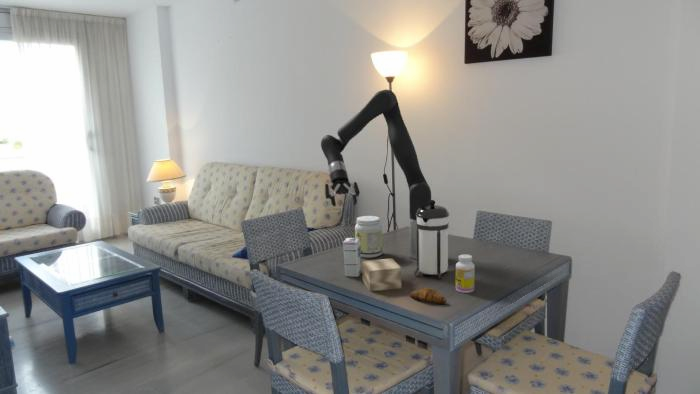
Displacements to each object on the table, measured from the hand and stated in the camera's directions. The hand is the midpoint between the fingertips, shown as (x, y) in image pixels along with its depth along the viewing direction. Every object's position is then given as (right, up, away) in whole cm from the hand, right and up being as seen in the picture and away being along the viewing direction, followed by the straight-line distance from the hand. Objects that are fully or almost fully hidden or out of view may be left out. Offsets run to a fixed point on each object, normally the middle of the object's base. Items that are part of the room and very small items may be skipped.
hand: (344, 204), depth 209 cm
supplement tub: (+11, -23, +20) cm, 32 cm away
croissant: (+29, -33, -35) cm, 56 cm away
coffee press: (+35, -27, -7) cm, 45 cm away
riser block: (+14, -30, -18) cm, 38 cm away
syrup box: (+3, -28, -6) cm, 29 cm away
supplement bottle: (+44, -31, -27) cm, 60 cm away
